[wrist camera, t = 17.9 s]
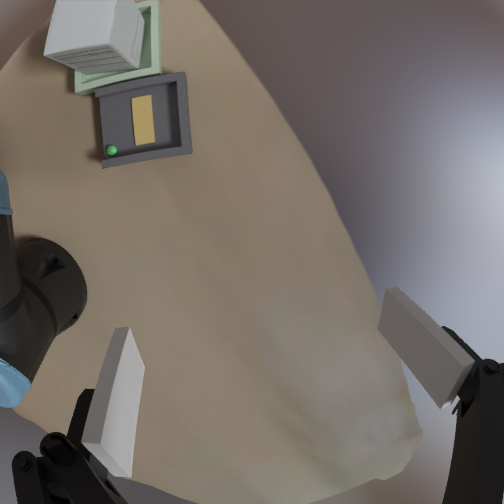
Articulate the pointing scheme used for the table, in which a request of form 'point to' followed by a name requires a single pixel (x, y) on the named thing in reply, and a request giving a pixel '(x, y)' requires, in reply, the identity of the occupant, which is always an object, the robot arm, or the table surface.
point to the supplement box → (96, 35)
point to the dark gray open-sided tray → (145, 119)
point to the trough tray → (148, 60)
